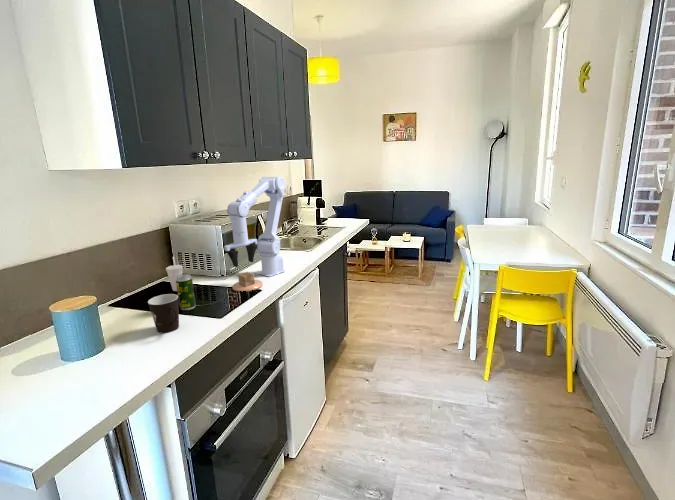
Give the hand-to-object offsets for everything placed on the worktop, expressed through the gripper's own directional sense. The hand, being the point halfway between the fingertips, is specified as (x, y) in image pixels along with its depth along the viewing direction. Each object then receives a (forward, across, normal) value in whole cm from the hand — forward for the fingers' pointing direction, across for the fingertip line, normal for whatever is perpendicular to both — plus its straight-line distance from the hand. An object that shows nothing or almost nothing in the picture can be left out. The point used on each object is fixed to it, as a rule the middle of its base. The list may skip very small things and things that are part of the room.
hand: (243, 264), depth 150 cm
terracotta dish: (+9, +1, +2) cm, 10 cm away
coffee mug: (+9, +40, +14) cm, 43 cm away
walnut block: (+8, +1, +2) cm, 9 cm away
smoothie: (+10, +19, -20) cm, 30 cm away
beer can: (+10, +27, +2) cm, 28 cm away
